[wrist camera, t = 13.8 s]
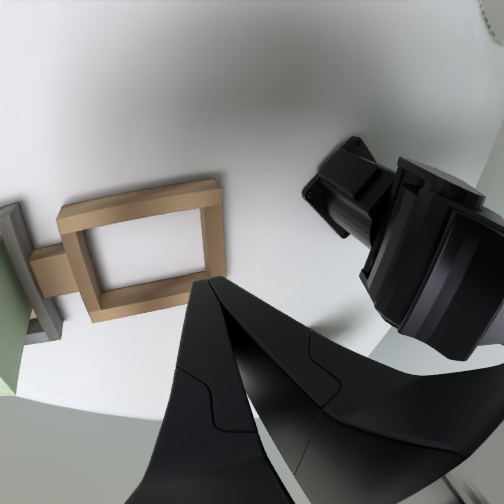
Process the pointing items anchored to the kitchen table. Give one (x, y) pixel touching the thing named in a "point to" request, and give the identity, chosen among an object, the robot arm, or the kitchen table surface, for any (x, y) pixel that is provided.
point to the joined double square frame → (80, 265)
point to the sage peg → (11, 323)
